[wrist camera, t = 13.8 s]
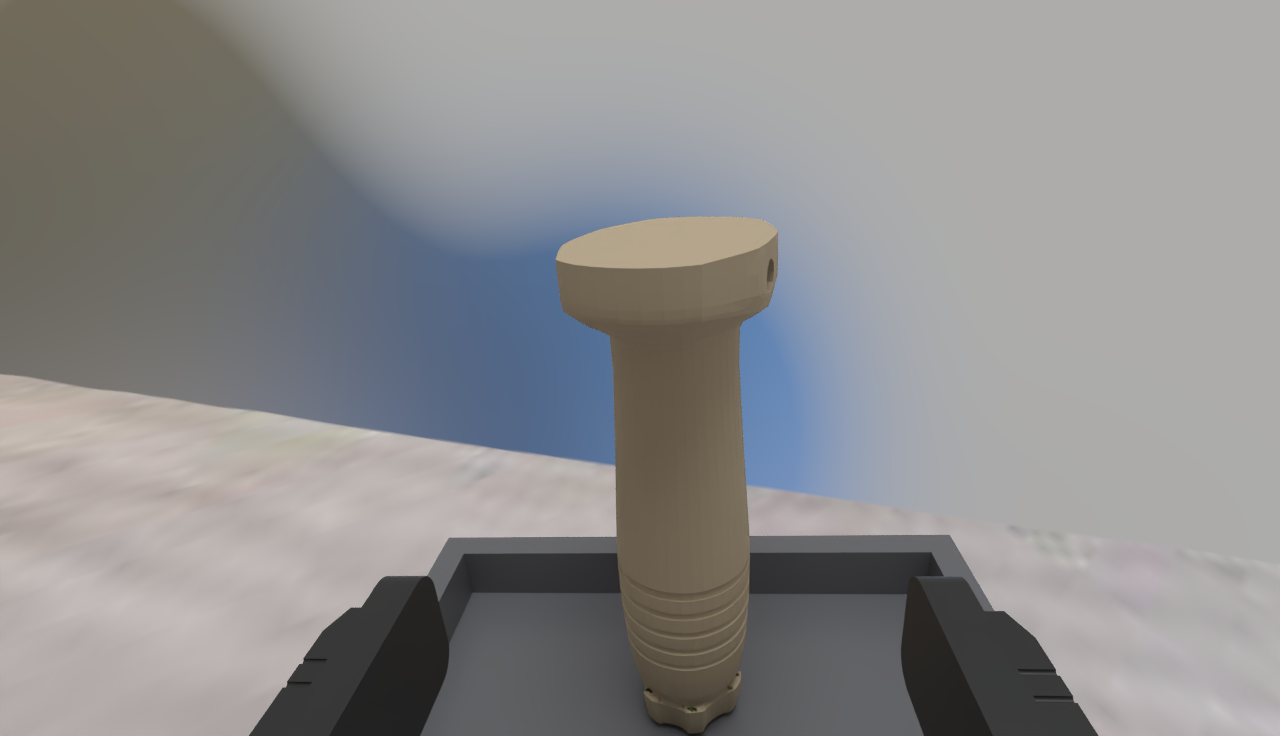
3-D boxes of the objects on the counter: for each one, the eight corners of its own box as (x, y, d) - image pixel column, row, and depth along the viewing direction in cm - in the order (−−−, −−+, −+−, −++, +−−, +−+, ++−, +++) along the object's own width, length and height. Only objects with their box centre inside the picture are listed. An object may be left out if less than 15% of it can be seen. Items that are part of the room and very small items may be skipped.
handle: (578, 757, 19) (510, 264, 13) (656, 609, 24) (632, 216, 19) (735, 816, 17) (734, 272, 11) (781, 642, 22) (796, 216, 17)
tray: (323, 882, 17) (291, 812, 16) (462, 593, 27) (449, 537, 26) (1105, 926, 15) (1134, 849, 14) (940, 595, 25) (949, 535, 24)
